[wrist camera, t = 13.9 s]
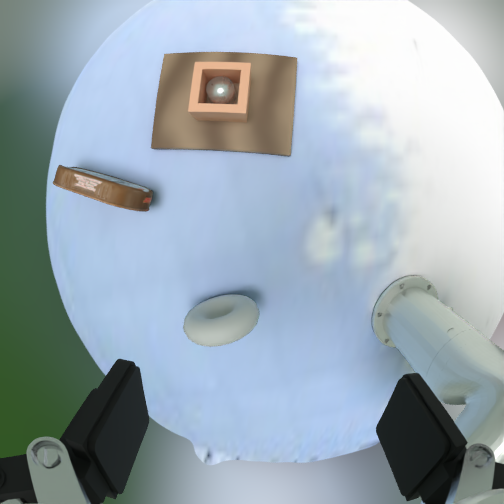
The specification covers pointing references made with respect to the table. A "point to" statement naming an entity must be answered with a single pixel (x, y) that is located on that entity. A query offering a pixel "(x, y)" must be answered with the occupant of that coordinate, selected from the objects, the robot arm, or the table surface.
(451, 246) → the table surface
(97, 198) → the tin
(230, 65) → the hollow square tube
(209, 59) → the board
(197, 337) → the donut
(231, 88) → the domed metal cylinder
